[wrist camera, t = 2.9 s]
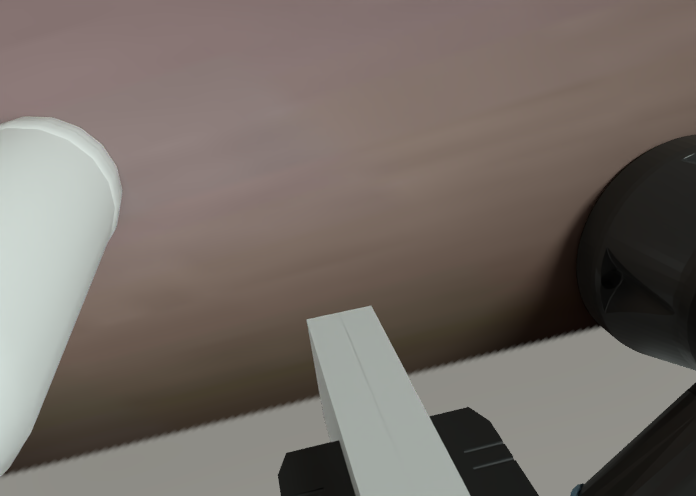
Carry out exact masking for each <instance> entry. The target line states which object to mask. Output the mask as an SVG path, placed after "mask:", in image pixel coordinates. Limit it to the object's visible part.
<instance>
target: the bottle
mask: <svg viewBox="0 0 696 496" xmlns="http://www.w3.org/2000/svg"><path fill="white" fill-rule="evenodd" d="M122 191H123V190H122V186H121V182H120V178H119V174H118V169H117V166H116V165H115V163H114V162H113V160H112V159H111V157H110V156H109V154H108V153H107V151H106V150H105V148H104V147H103V145H102V144H101V143H99V142H98V141H97V140H96V139H94V138H93V137H92V136H91V135H89V134H88V133H87V132H85V131H84V130H83V129H82V128H80V127H78V126H75V125H72V124H70V123H67V122H64V121H62V120H59V119H56V118H54V117H32V116H24V117H20V118H17V119H14V120H11V121H7V122H4V123H1V124H0V477H1V476H2V475H3V474H4V473H5V472H6V471H7V470H8V469H9V468H10V466H11V464H12V463H13V461H14V459H15V458H16V456H17V454H18V453H19V451H20V450H21V448H22V446H23V445H24V443H25V441H26V440H27V438H28V436H29V435H30V433H31V431H32V429H33V426H34V424H35V421H36V419H37V416H38V414H39V411H40V409H41V407H42V404H43V402H44V399H45V397H46V394H47V392H48V389H49V387H50V384H51V382H52V379H53V377H54V374H55V372H56V369H57V367H58V364H59V362H60V359H61V357H62V354H63V352H64V350H65V347H66V345H67V342H68V340H69V337H70V335H71V332H72V330H73V327H74V325H75V322H76V320H77V317H78V315H79V312H80V310H81V307H82V305H83V302H84V300H85V297H86V295H87V293H88V290H89V288H90V285H91V283H92V280H93V278H94V275H95V273H96V270H97V268H98V265H99V263H100V260H101V258H102V255H103V253H104V250H105V248H106V245H107V243H108V241H109V239H110V238H111V236H112V234H113V233H114V231H115V229H116V227H117V223H118V216H119V212H120V205H121V198H122Z"/></svg>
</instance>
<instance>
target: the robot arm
mask: <svg viewBox="0 0 696 496" xmlns="http://www.w3.org/2000/svg"><path fill="white" fill-rule="evenodd" d="M577 281H578V287H579V291H580V294H581V297H582V300H583V302H584V305H585V306H586V308H587V310H588V312H589V313H590V315H591V316H592V317H593V318H594V320H595V321H596V322H597V323H598V324H599V325H600V326H601V327H603V328H604V329H605V330H606V331H607V332H609V333H610V334H611V335H612V336H614V337H615V338H616V339H617V340H618V341H620V342H621V343H622V344H624V345H625V346H627V347H629V348H631V349H633V350H635V351H637V352H639V353H642V354H645V355H648V356H652V357H655V358H658V359H661V360H664V361H668V362H671V363H674V364H677V365H680V366H683V367H686V368H690V369H693V370H696V135H691V136H685V137H681V138H677V139H674V140H671V141H668V142H666V143H664V144H661V145H659V146H657V147H655V148H653V149H651V150H650V151H648V152H646V153H645V154H643V155H642V156H640V157H639V158H637V159H636V160H635V161H633V162H632V163H631V164H630V165H628V166H627V167H626V168H625V169H624V170H623V171H622V172H621V173H620V174H619V175H618V176H617V177H616V178H615V179H614V180H613V181H612V182H611V183H610V184H609V186H608V187H607V188H606V189H605V191H604V192H603V194H602V195H601V196H600V198H599V199H598V201H597V203H596V204H595V206H594V208H593V209H592V211H591V213H590V215H589V217H588V220H587V222H586V224H585V227H584V230H583V233H582V236H581V239H580V243H579V248H578V254H577ZM307 325H308V331H309V336H310V342H311V348H312V353H313V359H314V365H315V370H316V376H317V382H318V387H319V393H320V399H321V404H322V410H323V415H324V420H325V424H326V427H327V431H328V434H329V438H330V443H326V444H322V445H317V446H314V447H309V448H305V449H301V450H297V451H293V452H289V453H286V455H285V458H284V461H283V463H282V466H281V469H280V471H279V474H278V479H279V485H280V492H281V496H539V495H538V494H537V492H536V491H535V489H534V488H533V486H532V485H531V483H530V482H529V480H528V478H527V477H526V475H525V474H524V472H523V471H522V469H521V468H520V466H519V465H518V463H517V462H516V461H514V459H513V456H512V454H511V453H510V451H509V450H508V448H507V447H506V445H505V444H503V441H502V439H501V438H500V436H499V434H498V433H497V431H496V430H495V428H494V427H493V426H492V424H491V422H490V421H489V420H487V419H486V418H484V417H483V416H481V415H480V414H478V413H477V412H475V411H474V410H472V409H471V408H469V407H467V408H463V409H459V410H454V411H451V412H446V413H442V414H438V415H434V416H430V417H429V415H428V414H427V412H426V410H425V408H424V406H423V404H422V402H421V400H420V398H419V397H418V394H417V393H416V390H415V389H414V387H413V385H412V383H411V381H410V379H409V377H408V375H407V373H406V371H405V369H404V368H403V366H402V364H401V362H400V360H399V358H398V356H397V354H396V352H395V350H394V348H393V347H392V345H391V343H390V341H389V339H388V337H387V335H386V333H385V331H384V329H383V327H382V326H381V324H380V322H379V320H378V318H377V316H376V314H375V312H374V310H373V308H372V306H368V307H363V308H358V309H354V310H349V311H344V312H340V313H335V314H330V315H326V316H321V317H316V318H312V319H307ZM571 496H696V383H695V384H694V385H692V386H691V387H690V388H689V389H688V390H687V391H686V392H685V393H683V394H682V395H681V396H680V397H679V398H678V399H677V400H676V401H675V402H674V403H673V404H671V405H670V406H669V407H668V408H667V409H666V410H665V411H664V412H663V413H662V414H661V415H659V416H658V417H657V418H656V419H655V420H654V421H653V422H652V423H651V424H650V425H649V426H648V427H646V428H645V429H644V430H643V431H642V432H641V433H640V434H639V435H638V436H637V437H636V438H634V439H633V440H632V441H631V442H630V443H629V444H628V445H627V446H626V447H625V448H623V450H622V451H620V452H619V453H618V454H617V455H616V456H615V457H614V458H613V459H611V460H610V461H609V462H608V463H607V464H606V465H605V466H604V467H603V468H602V469H601V470H600V471H599V472H597V473H596V474H595V475H594V476H593V477H592V478H591V479H590V480H589V481H587V482H586V483H585V484H580V485H577V486H576V487H575V488H574V489H573V490H572V492H571Z"/></svg>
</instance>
